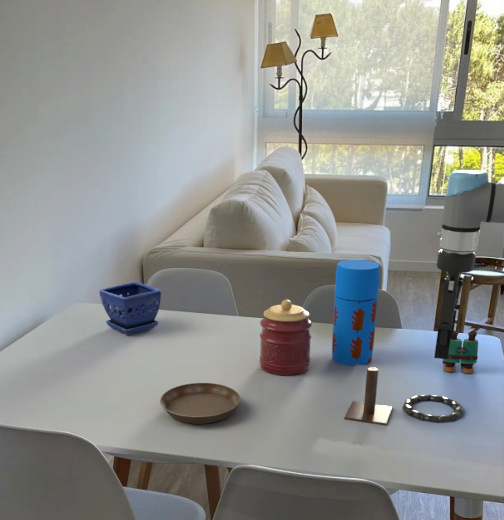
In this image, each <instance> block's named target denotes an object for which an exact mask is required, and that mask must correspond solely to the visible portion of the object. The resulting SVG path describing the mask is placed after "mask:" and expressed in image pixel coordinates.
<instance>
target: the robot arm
mask: <svg viewBox="0 0 504 520" xmlns="http://www.w3.org/2000/svg"><path fill="white" fill-rule="evenodd" d="M441 223H442V224H441V231H438V232H437V237H438V238H440V239H439V248H440V249H439V250H438V253H437V259H436V267H437V269H438V270H440V271H443V272H447V275H444V276H443V279H442V292H441V299H442V301H441V309H440V315H439V322H438V324H434V325H435V326H434V329H435V330H437V335H436V341H435V350H434V356H433V358H434V359H440V360H443V359H448V353H449V346H450V339H452V338H453V332H454V331H455V325H456V316H457V311H460V310H461V304H459V299H460V293H461V291H462V288H463V285H464V277H462V273H466V274H467V273H470V272H472V271H473V270H474V269H475V263H476V257H477V253H476V250H478V246H479V240H480V233H481V224H482V223H496V224H504V177H502V178H501V179H500V180H499V181H498V182H497V183H496V182H491V181H489V175H488V173H487V172H486V171H482V170H474V169H457V170H454V171H452V172H451V173H450V174H449V176H448V180H447V185H446V191H445V197H444V206H443V214H442V222H441Z"/></svg>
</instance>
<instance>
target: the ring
mask: <svg viewBox="0 0 504 520" xmlns="http://www.w3.org/2000/svg"><path fill="white" fill-rule="evenodd" d="M425 402H433V403H440V404H442V405H446V406H448V407H450V408H451V409H452V410H453V412H452V413H450V414H446V415H433V414H426V413H423V412H420V411H418V410H415V409H414V408H413V407H414V405H417V404H418V403H425ZM402 411H404V412H405V413H406V415H407V416H408V417H411V418H414V419H416V420H419V421H421V422H427V423H436V424H443V423H445V424H446V423H454V422H456V421H458V420H460V419H462V418H463V417H464V413H465V409H464V408H463V406H462V405H460V404H459V402H457V401H456V400H454V399H451V398H448V397H445V396H441V395H436V394H435V395H433V394H419V395H414V396H411V397H410V398H407V399H406V400H404V402H403V406H402Z"/></svg>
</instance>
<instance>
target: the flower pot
mask: <svg viewBox="0 0 504 520" xmlns="http://www.w3.org/2000/svg"><path fill="white" fill-rule="evenodd" d="M99 296H100V300H101V304H102V306H103V309H104V311H105V313H106V314H107V316H108V318H109V319H108V320H105V323H106V324H107V326H108V327H110V328H111V329H113V330H115V331H117V332H120V333H122V334H124V335H126V336H130V335H133V334H134V335H135V334H138V333H141V332H144V331H145V332H146V331H148V330H152V329H155V328H157V326H158V324H159V321H158V320H156V318H157V315H158V313H159V310H160V306H161V301H162V300H161V299H162V291H161V289H159V288H156V287H153V286H151V285H148V284H145V283H142V282H138V281H133V282H128V283H122V284H117V285H114V286H110V287H106V288H102V289H99Z"/></svg>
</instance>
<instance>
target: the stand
mask: <svg viewBox="0 0 504 520" xmlns="http://www.w3.org/2000/svg"><path fill="white" fill-rule="evenodd" d="M378 379H379V368H378V367H374V366H370V367H369V366H368V367H367V368H366V377H365V389H364V399H363V400H364V401H363V402H362V401H357V400H356V401H355V400H352V401H351V404H350V406H349V407H348V410H347V411H346V413H345V415H344V417H343V419H344V420H345V421H353V422H359V423H366V424H371V425H372V424H373V425H379V426H387V425H388V423H389V420H390V417H391V414H392V412H393V409H394V406H392V405H384V404H377V403H376V400H377V391H378Z"/></svg>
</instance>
